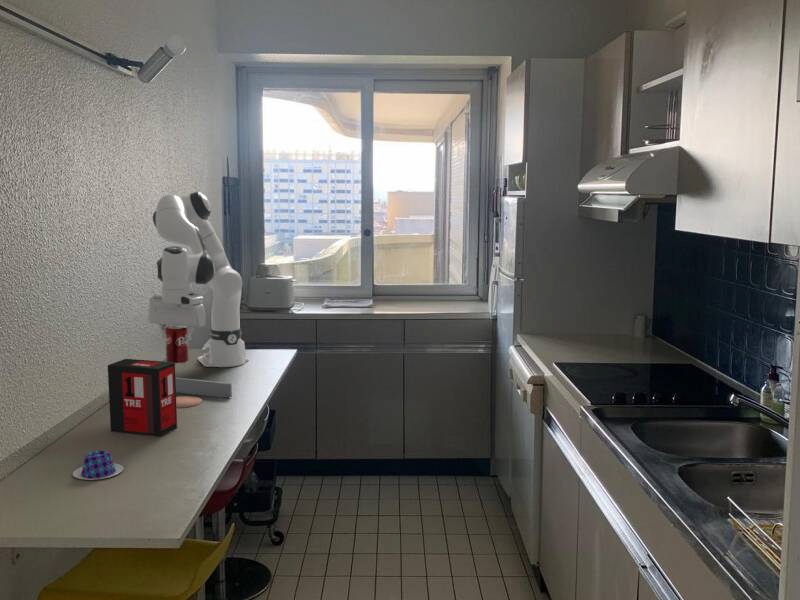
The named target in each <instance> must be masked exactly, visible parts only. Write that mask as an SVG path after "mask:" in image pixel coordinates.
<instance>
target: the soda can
mask: <svg viewBox="0 0 800 600" xmlns="http://www.w3.org/2000/svg"><path fill="white" fill-rule="evenodd" d="M187 332H188V330H187V326H177V325H167V326H166V328H165V362H175V365H183V364H187V363H188V362H189V360H190V358H189V357H190V355H189V354H190V351H189V350H190V349H189V340H185V337H184V335H185V334H187Z"/></svg>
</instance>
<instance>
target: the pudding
mask: <svg viewBox="0 0 800 600" xmlns="http://www.w3.org/2000/svg"><path fill="white" fill-rule="evenodd" d="M122 471H124V467H123V466H122V465H121V464H119V463H115V462H113V458H112V455H111V453H110V452H108V451H106V450H95V451H91V452H88V453H87V454H85V456H84V459H83V465H82V466H80V467H79V468H76V469H75V470H74V471H73V472H72V476H73V477H74V478H77V479H80V480H85V481H87V480H89V481H90V480H91V481H93V480H103V479H107V478H111V477H114V476H117V475H118V474H120V473H122Z"/></svg>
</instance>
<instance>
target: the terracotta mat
mask: <svg viewBox="0 0 800 600" xmlns="http://www.w3.org/2000/svg"><path fill="white" fill-rule="evenodd" d="M201 402H203V399H202V398H200V397H198V396H191V395H190V396H189V395H184V396H176V409H183V408H184V409H185V407H186V408H191V406H192V407H196V406H199V405H200V403H201ZM198 404H199V405H198ZM201 404H202V403H201ZM195 405H196V406H195Z"/></svg>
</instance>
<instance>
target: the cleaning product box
mask: <svg viewBox="0 0 800 600" xmlns="http://www.w3.org/2000/svg"><path fill="white" fill-rule="evenodd" d="M175 377H176V364H175V362H166V361H162V360H160V361H158V360H148V359H147V360H146V359H134V358H124V359H121V360H118V361H115V362H112V363H110V364H107V379H108V381H107V382H108V383H107V384H108V400H109V402H108V403H109V422H110V425H109V426H110V432H111V433H118V434H127V433H128V435H129V434H130V435H139V436H140V435H141V436H148V437H150V436H151V437H156V438H157V437H158V438H162V437H163V436H165V435H167V434H168V433H170V431H171V432H172V431H174V430H176V429H177V428H178V413H177V408H176V397H177V394H176V393H177V392H176V383H175Z"/></svg>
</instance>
